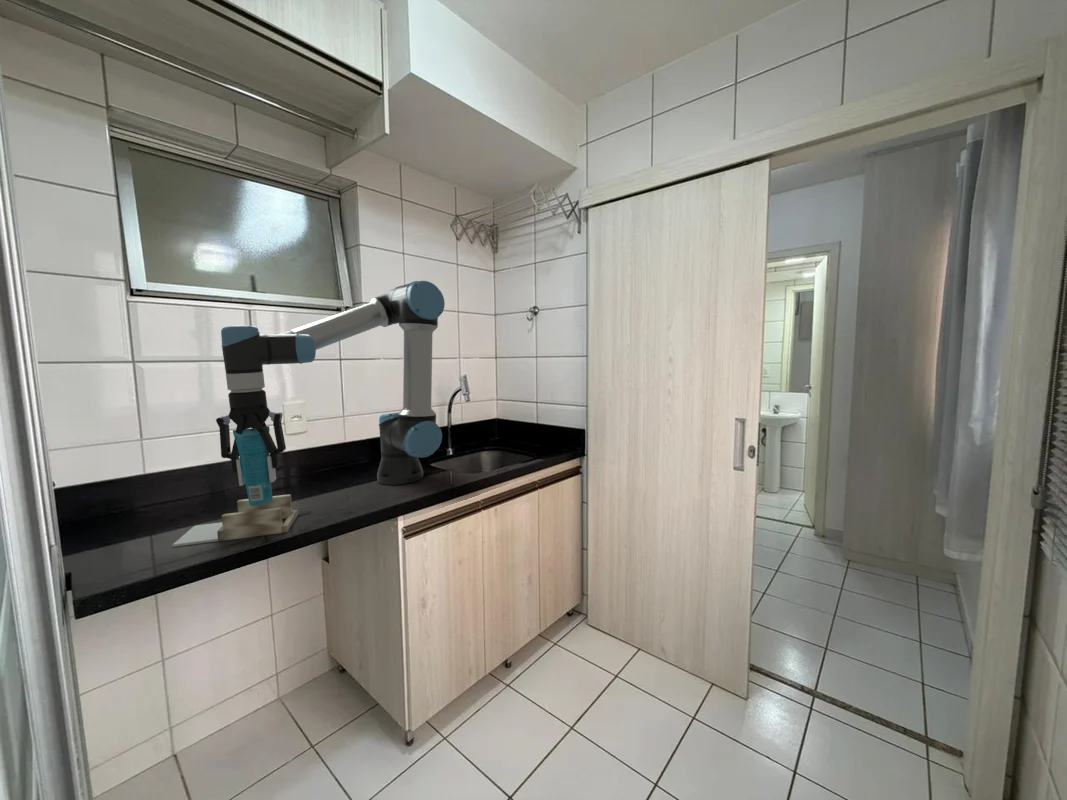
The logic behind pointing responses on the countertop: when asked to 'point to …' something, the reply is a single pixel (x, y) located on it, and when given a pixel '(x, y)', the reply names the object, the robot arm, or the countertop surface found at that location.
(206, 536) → the mat
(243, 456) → the tube
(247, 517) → the rack
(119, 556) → the countertop surface
